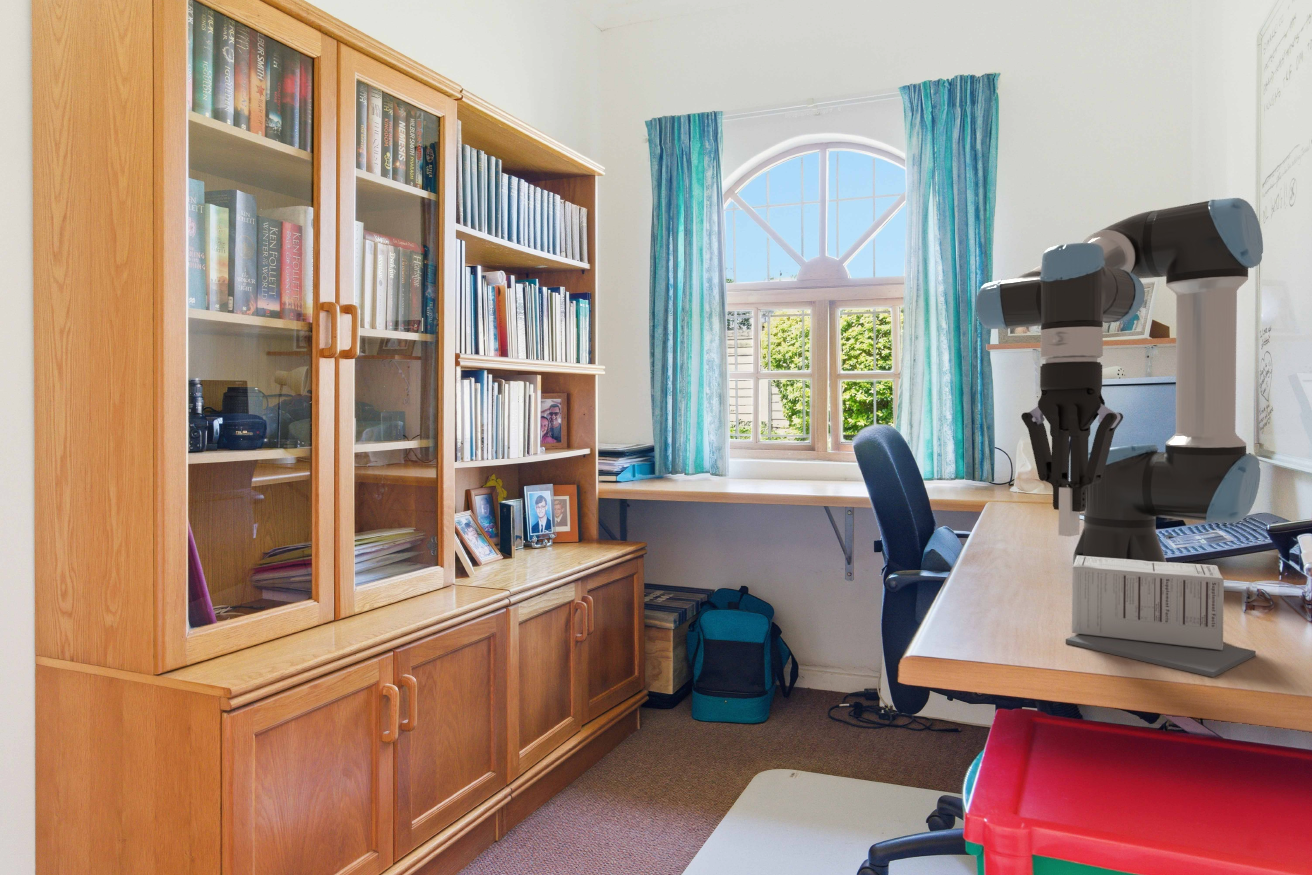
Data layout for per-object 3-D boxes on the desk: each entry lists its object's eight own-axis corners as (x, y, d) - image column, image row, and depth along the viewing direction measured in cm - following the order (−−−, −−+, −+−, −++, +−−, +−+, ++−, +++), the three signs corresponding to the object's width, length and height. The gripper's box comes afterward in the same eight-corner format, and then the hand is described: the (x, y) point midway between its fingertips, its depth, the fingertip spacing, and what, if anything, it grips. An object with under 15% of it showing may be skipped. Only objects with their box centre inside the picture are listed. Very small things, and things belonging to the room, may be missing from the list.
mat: (1112, 626, 116) (1112, 622, 116) (1255, 655, 103) (1255, 650, 103) (1065, 643, 109) (1065, 638, 109) (1213, 677, 95) (1213, 671, 95)
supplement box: (1070, 634, 111) (1223, 652, 102) (1071, 565, 110) (1225, 578, 102) (1076, 618, 119) (1218, 633, 110) (1076, 553, 119) (1219, 564, 110)
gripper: (1010, 362, 115) (1008, 531, 116) (1107, 358, 105) (1104, 544, 106) (1038, 363, 120) (1037, 526, 121) (1134, 359, 109) (1132, 537, 110)
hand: (1068, 534), depth 113 cm, fingers closed
